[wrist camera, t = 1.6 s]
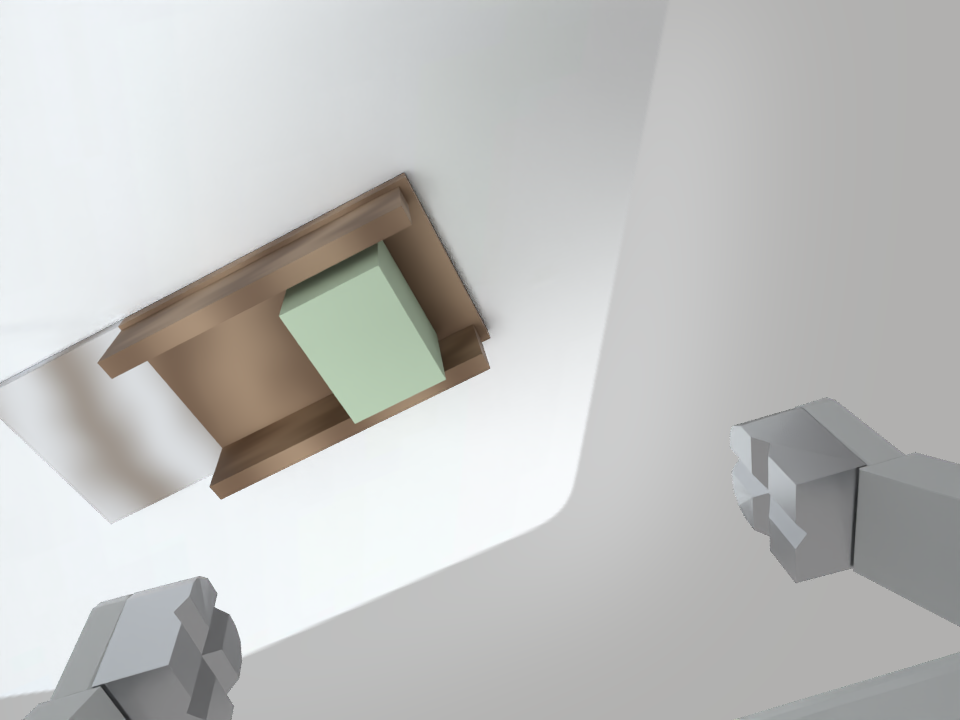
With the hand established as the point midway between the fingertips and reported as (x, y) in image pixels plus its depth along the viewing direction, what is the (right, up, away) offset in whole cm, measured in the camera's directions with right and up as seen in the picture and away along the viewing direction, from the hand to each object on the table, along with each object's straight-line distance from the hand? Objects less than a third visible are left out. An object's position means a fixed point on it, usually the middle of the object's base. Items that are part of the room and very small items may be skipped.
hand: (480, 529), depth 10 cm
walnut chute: (-12, +3, +27) cm, 30 cm away
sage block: (-6, +5, +25) cm, 27 cm away
